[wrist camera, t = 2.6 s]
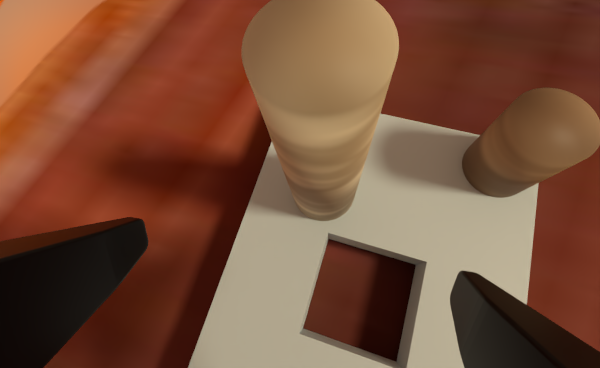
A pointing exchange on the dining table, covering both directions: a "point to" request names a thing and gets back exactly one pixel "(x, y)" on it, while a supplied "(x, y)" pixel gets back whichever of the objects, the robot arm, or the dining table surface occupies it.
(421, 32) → the dining table surface
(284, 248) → the hole board
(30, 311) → the robot arm
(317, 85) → the tall beech peg
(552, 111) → the short walnut peg
